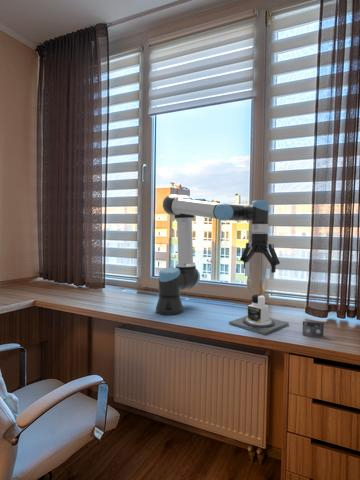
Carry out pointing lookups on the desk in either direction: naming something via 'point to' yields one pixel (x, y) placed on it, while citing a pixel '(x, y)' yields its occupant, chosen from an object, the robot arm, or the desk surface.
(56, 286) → the desk surface
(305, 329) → the mini dv tape
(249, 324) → the plate
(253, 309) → the medicine bottle
